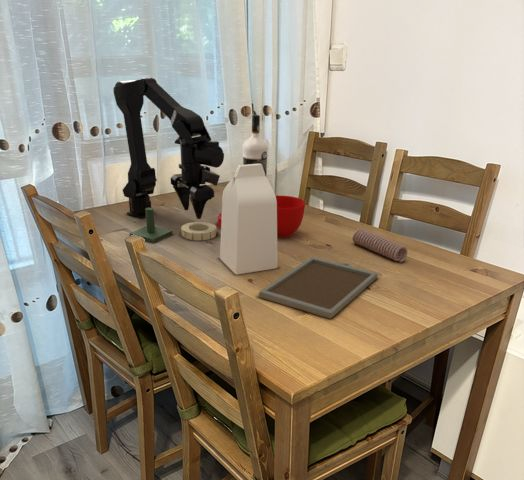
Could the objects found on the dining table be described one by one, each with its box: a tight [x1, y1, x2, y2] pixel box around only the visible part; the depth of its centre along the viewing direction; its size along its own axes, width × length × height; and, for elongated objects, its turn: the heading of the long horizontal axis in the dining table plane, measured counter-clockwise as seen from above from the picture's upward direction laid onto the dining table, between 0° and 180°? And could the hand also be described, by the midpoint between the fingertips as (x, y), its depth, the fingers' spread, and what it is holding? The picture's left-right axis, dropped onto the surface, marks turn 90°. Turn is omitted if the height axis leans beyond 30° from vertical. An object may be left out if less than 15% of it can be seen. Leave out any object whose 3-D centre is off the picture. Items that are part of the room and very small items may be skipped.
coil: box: [352, 228, 408, 263], centre depth 159 cm, size 5×5×18 cm
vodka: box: [242, 114, 269, 177], centre depth 185 cm, size 9×9×30 cm
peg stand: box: [129, 207, 173, 244], centre depth 164 cm, size 9×9×8 cm
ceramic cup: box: [275, 195, 306, 238], centre depth 170 cm, size 13×17×10 cm
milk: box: [219, 164, 279, 275], centre depth 144 cm, size 12×12×26 cm
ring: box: [180, 221, 217, 241], centre depth 168 cm, size 10×10×2 cm
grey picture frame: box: [258, 256, 378, 320], centre depth 139 cm, size 19×2×30 cm
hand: (192, 214), depth 169 cm, fingers open, 9 cm apart
